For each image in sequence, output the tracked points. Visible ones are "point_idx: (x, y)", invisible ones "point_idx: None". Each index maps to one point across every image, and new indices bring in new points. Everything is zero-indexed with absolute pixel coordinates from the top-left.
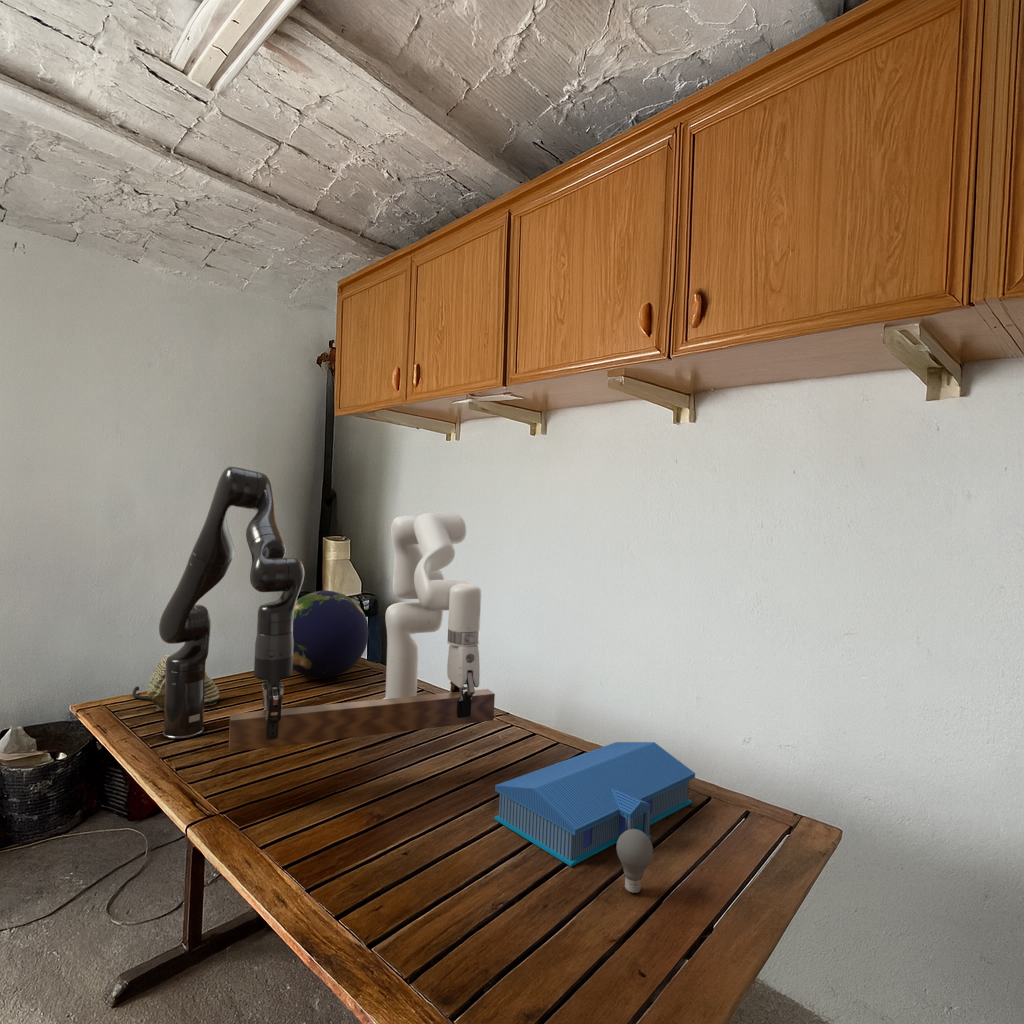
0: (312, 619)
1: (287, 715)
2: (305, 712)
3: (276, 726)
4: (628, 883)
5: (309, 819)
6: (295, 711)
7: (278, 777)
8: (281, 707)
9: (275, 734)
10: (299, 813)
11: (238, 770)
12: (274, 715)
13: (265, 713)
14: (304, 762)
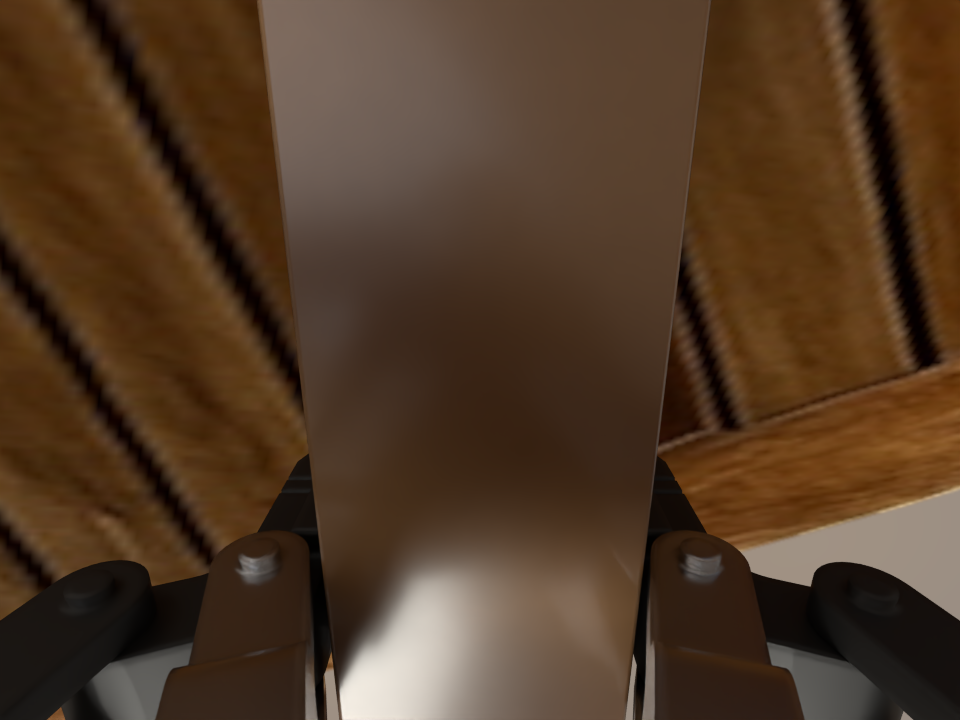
0: None
1: (656, 445)
2: (673, 108)
3: (697, 521)
4: None
5: (800, 132)
6: (535, 303)
7: (251, 233)
8: (787, 681)
9: (670, 474)
10: (713, 173)
11: (125, 412)
12: (888, 711)
13: (478, 714)
14: (55, 54)
